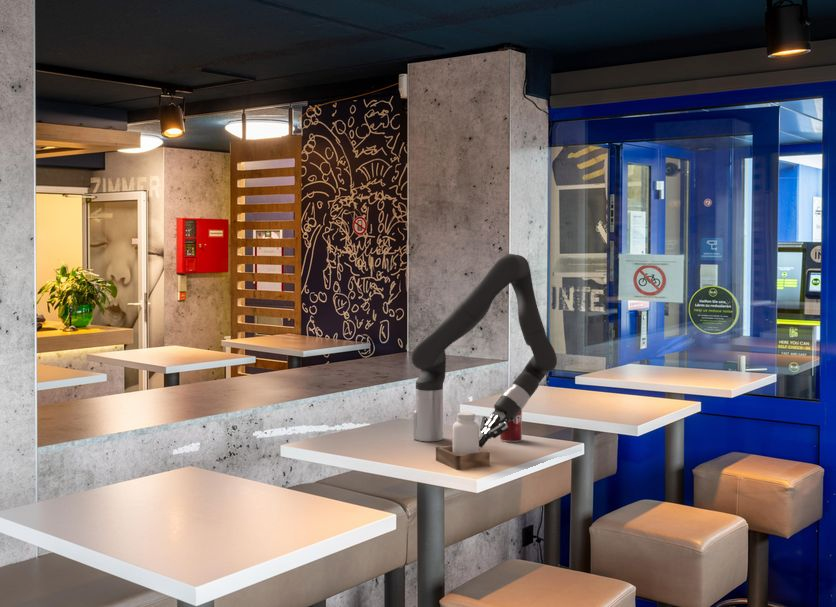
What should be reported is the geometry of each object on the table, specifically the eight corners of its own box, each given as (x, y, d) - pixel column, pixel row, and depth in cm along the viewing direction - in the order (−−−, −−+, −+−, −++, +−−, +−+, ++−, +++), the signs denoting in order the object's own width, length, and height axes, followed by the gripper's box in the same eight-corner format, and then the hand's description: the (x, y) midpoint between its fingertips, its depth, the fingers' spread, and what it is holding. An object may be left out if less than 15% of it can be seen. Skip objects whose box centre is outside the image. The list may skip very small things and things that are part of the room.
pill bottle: (482, 460, 277) (482, 412, 276) (474, 466, 270) (474, 416, 269) (457, 458, 280) (457, 410, 279) (448, 464, 273) (448, 414, 272)
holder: (467, 456, 283) (467, 443, 283) (489, 465, 271) (489, 452, 271) (435, 460, 278) (435, 447, 278) (456, 469, 266) (456, 456, 266)
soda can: (521, 438, 310) (521, 403, 309) (521, 442, 303) (522, 407, 302) (500, 438, 311) (500, 403, 310) (499, 442, 303) (500, 406, 303)
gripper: (493, 391, 286) (459, 433, 281) (516, 397, 274) (481, 441, 269) (508, 406, 289) (474, 448, 284) (531, 413, 277) (496, 457, 272)
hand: (478, 445), depth 277 cm, fingers closed
